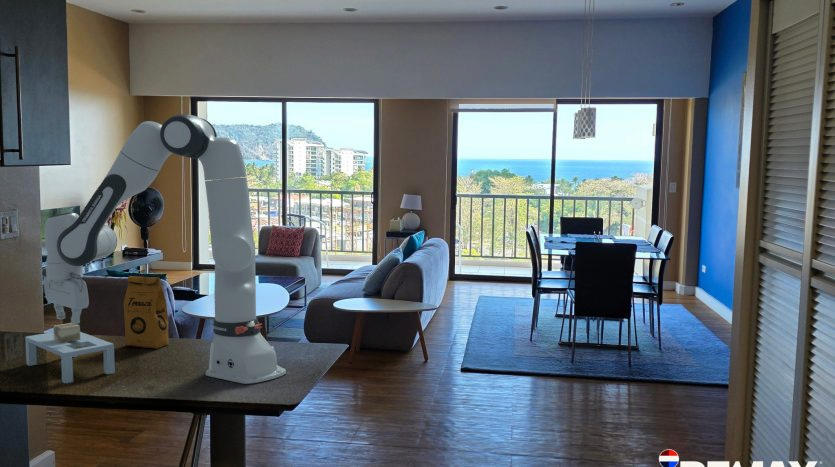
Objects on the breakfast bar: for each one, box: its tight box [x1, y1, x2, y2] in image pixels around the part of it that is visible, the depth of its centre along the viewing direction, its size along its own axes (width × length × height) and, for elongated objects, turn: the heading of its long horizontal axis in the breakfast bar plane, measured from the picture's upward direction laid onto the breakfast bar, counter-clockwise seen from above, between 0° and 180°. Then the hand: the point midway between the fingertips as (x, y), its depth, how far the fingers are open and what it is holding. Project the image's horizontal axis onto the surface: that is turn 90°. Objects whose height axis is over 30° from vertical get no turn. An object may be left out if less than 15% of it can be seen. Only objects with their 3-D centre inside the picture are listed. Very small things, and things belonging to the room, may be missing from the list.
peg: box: [53, 322, 81, 358], centre depth 194 cm, size 5×5×8 cm
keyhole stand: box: [25, 331, 116, 384], centre depth 194 cm, size 26×13×8 cm, turn 49°
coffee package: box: [123, 275, 169, 350], centre depth 218 cm, size 10×12×22 cm
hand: (68, 321), depth 194 cm, fingers open, 8 cm apart
